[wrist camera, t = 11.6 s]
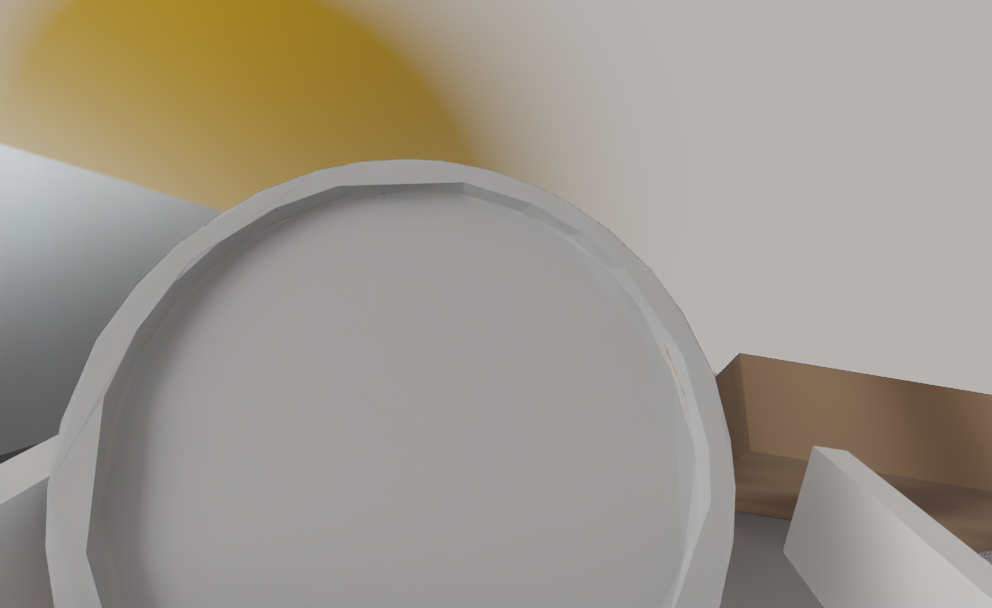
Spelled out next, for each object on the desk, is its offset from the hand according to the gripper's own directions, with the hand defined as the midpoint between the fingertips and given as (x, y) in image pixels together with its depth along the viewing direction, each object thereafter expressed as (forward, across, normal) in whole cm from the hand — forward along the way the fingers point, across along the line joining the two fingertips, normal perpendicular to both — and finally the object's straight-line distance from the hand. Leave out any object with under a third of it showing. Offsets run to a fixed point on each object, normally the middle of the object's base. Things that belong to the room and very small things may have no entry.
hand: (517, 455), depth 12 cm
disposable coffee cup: (+5, -3, -4) cm, 7 cm away
